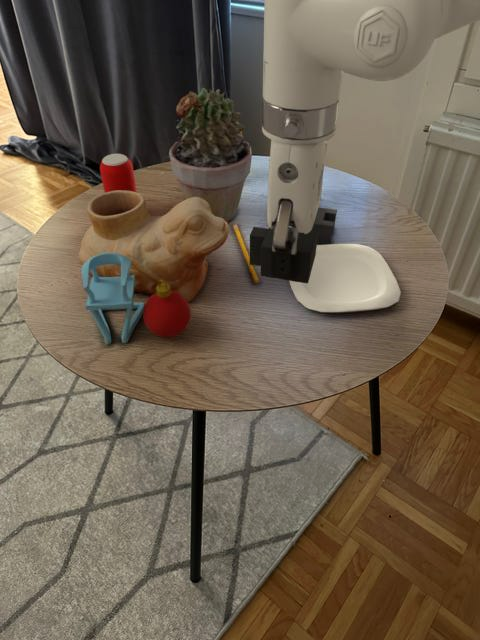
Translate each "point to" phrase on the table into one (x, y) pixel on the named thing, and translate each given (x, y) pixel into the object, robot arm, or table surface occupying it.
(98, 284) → the chair
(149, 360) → the table surface
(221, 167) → the potted plant
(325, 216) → the socket pad
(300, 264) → the black rectangular block
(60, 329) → the table surface
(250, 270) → the pencil
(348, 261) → the plate
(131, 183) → the beverage can
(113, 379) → the table surface
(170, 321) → the christmas ornament
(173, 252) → the ceramic vessel
